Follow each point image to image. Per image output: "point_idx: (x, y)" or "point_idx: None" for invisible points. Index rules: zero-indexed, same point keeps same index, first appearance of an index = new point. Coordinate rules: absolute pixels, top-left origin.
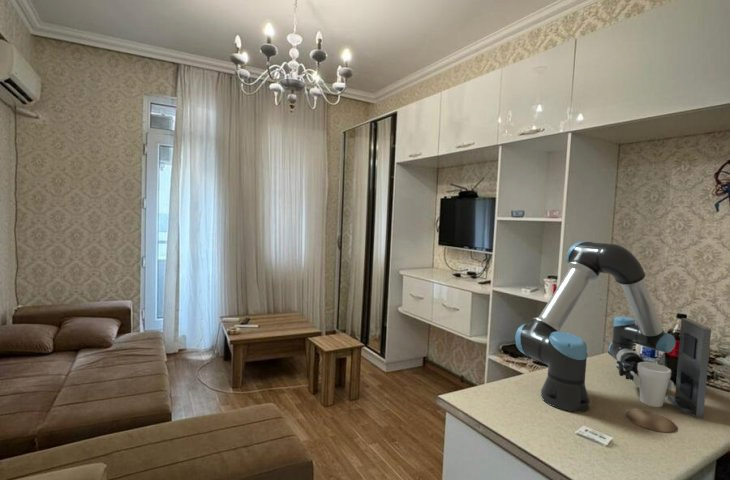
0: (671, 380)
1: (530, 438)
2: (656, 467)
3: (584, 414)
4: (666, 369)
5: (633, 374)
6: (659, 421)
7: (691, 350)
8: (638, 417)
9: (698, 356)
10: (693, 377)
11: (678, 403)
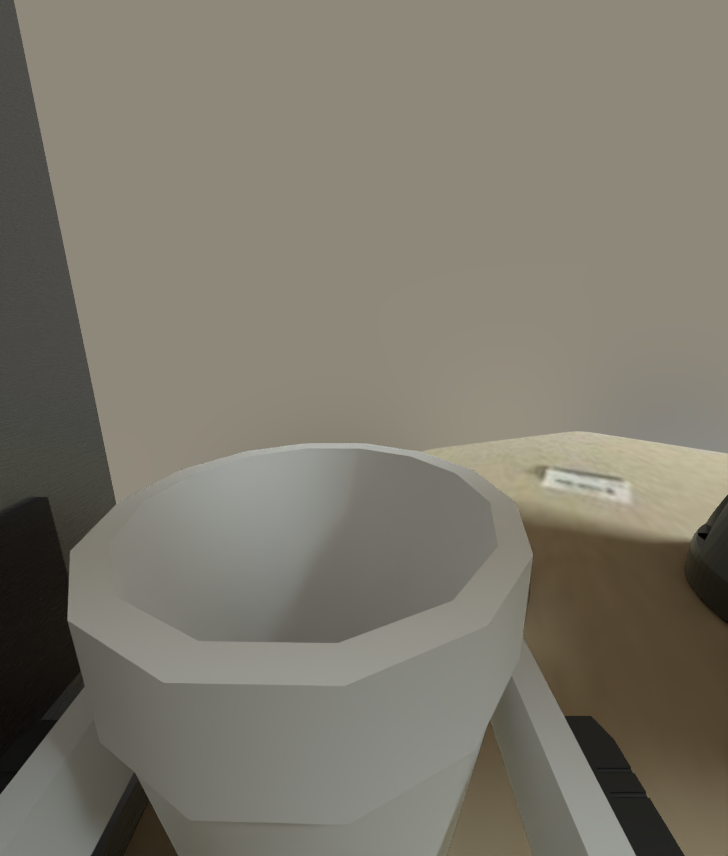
0: (14, 752)
1: (685, 456)
2: (457, 451)
3: (669, 547)
4: (137, 535)
5: (557, 706)
6: None
7: None
8: None
9: (27, 231)
10: (34, 475)
11: None
